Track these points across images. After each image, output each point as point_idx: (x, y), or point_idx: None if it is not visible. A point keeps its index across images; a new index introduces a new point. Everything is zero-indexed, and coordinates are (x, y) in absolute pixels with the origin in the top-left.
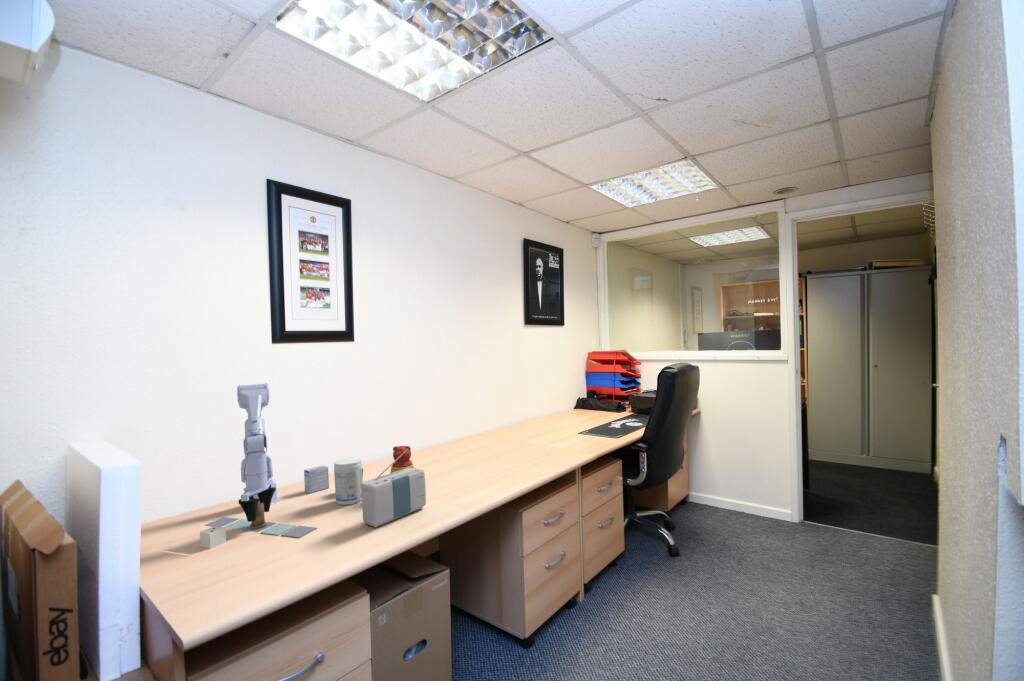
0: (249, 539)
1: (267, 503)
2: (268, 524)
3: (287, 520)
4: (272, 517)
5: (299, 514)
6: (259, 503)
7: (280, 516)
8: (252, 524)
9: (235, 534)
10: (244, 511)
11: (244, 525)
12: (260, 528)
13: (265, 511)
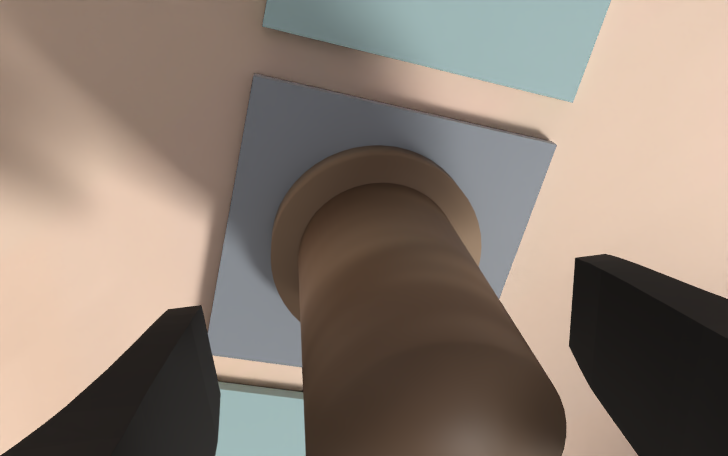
0: (22, 367)
1: (650, 434)
2: None
3: None
4: (693, 200)
5: None
6: (534, 432)
7: (702, 279)
8: (305, 239)
9: (129, 75)
10: (50, 424)
11: (417, 7)
12: None
13: (574, 319)
